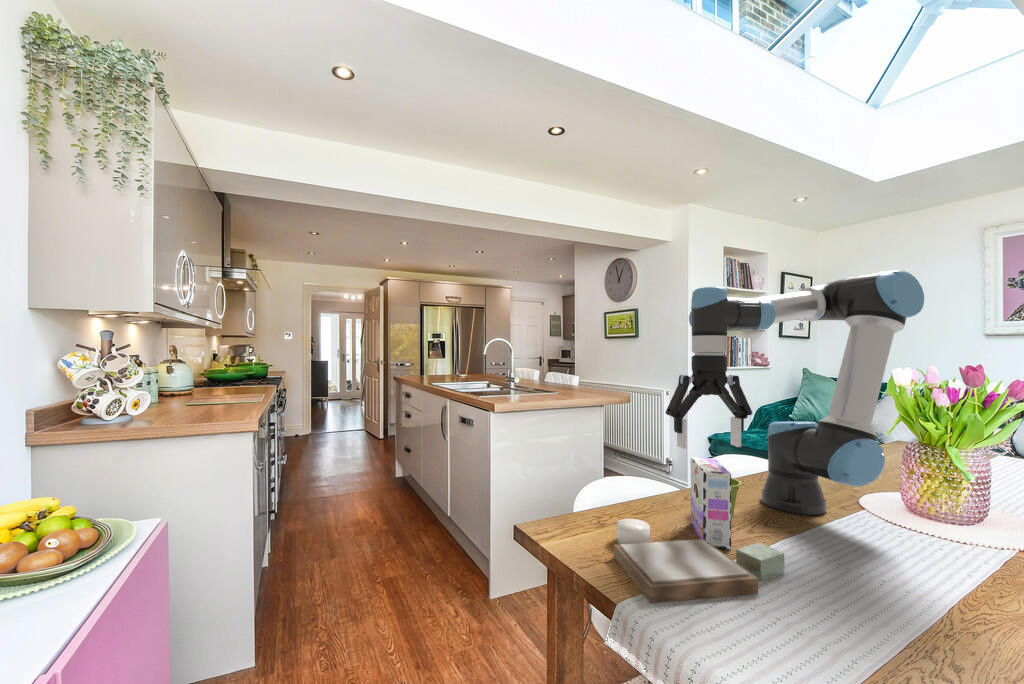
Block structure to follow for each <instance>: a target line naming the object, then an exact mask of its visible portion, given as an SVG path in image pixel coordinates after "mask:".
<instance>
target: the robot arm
mask: <svg viewBox="0 0 1024 684" xmlns="http://www.w3.org/2000/svg"><path fill="white" fill-rule="evenodd" d="M690 303H691V304H690V305H691V306H690V310H691V311H690V312H689V315H688V322H689V325H690V327H691V353H692V354H694V355H692V356H691V372H692V374H691V376H689V375H685V374H680V375H679V376H678V382H677V383H678V384H677V386H676V388H675V391H674V392H673V395H672V397H671V400H670V402H669V404H668V406H667V408H666V410H665V415H667V416H670V417H672V418H673V431H674V433H676V447H678V448H681V449H685V450H686V449H687V445H688V443H687V439H688V438H687V430H688V429H687V428H688V427H687V422H688V421H687V419H685V418H684V417H685V416H686V415H687V413H688V412H689V411H690V410H691V408H692V407H693V406H694V404H696V402H697V400H698V399H699V398H701V397H702V396H711V395H712V396H718V397H719V399H721V401H722V402H723V403H724V405H725V406H726V407H727V409H728V410H729V411H730V412H731V413H732V415H733V416H730V445H732V446H734V447H736V448H742V432H744V429H745V420H747V419H748V416H752V414H753V411H752V409H751V406H750V404H749V402H748V400H747V398H746V396H745V394H744V391H743V389H742V388H743V387H741V382H740V380H741V379H740V376H739V375H736V374H735V375H734V374H733V375H732V374H729V375H727V374H726V373H727V371H728V357H727V356H726V355H725V354H727V353H728V332H730V331H731V332H732V331H733V332H734V331H759V330H760V331H763V330H766V329H769V328H770V327H771V326H773V324H777V323H784V322H791V321H792V322H793V321H798V320H799V321H800V320H804V321H807V322H815V321H817V322H818V321H844V322H845V323H846V324H847V326H849V328H850V329H849V333H848V337H847V340H846V344H845V349H844V352H843V356H842V360H841V365H840V369H839V372H838V376H837V379H836V383H835V387H834V389H833V394H832V398H831V399H832V400H831V402H830V406H829V411H828V414H827V416H826V417H824V418H822V419H819V420H818V422H815V421H793V420H791V421H773V422H770V424H769V425H768V431H767V460H768V461H767V464H768V467H767V468H768V470H767V472H768V473H767V477H766V480H765V481H764V485H763V488H762V489H761V493H760V494H761V495H760V496H761V497H760V498H761V502H762V503H763V504H765V506H768V507H771V508H772V509H775V510H779V511H783V512H786V513H791V514H797V515H807V516H808V515H809V516H813V515H814V516H815V515H816V516H817V515H819V516H820V515H823V514H826V513H827V512H828V511H827V510H828V508H827V507H828V506H827V500H826V499H825V497H824V492H823V490H822V487H821V484H820V481H819V477H821V478H824V479H826V480H830V481H833V482H834V483H837V484H840V485H847V486H850V487H856V488H857V487H865V486H868V485H869V484H870V483H873V482H874V481H876V480H877V479H878V478H879V477H880V475H881V474H882V472H883V470H884V467H885V463H886V456H885V454H884V452H885V451H884V449H883V447H882V446H881V445H880V444H879V443H878V442H877V438H878V434H877V433H876V432H875V430H873V428H872V424H873V420H874V415H875V411H876V407H877V403H878V399H879V395H880V391H881V387H882V384H883V380H884V376H885V370H886V368H887V363H888V359H889V355H890V351H891V347H892V344H893V339H894V336H895V335H894V334H896V333H898V332H900V331H902V330H903V329H904V328H905V325H906V321H907V318H911V317H914V316H917V315H918V313H920V312H921V311H922V310H923V308H924V304H925V293H924V290H923V287H922V285H921V284H920V281H919V280H918V278H917V277H915V276H914V275H913V274H912V273H910V272H908V271H906V270H905V271H904V270H899V269H896V270H888V271H887V270H882V271H880V272H876V273H870V274H865V275H864V274H863V275H857V276H852V277H846V278H845V277H844V278H841V279H840V278H839V279H837V280H833V281H830V282H826V283H821V284H819V285H815V286H808V287H805V288H802V289H801V290H800V291H797V292H789V293H782V294H774V295H768V296H758V297H731V296H729V294H728V290H727V288H726V287H721V286H707V287H706V286H704V287H700V288H696V289H695V290H693V291H692V294H691V302H690ZM691 384H692V387H691V388H690V390H689V386H690V385H691ZM726 385H728V388H729V390H730V391H729V390H728V389H727V388H726ZM688 390H689V391H688ZM687 391H688V394H687V395H686V393H687ZM730 392H731V394H732V395H731V394H730Z"/></svg>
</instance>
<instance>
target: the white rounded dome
mask: <svg viewBox="0 0 1024 684" xmlns="http://www.w3.org/2000/svg"><path fill="white" fill-rule="evenodd" d="M616 541H617V544H631V543H647V542H651V525H650V524H649V523H648V522H646V521H644V520H641V519H636V518H622V519H619V520H618V521H617V523H616Z"/></svg>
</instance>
